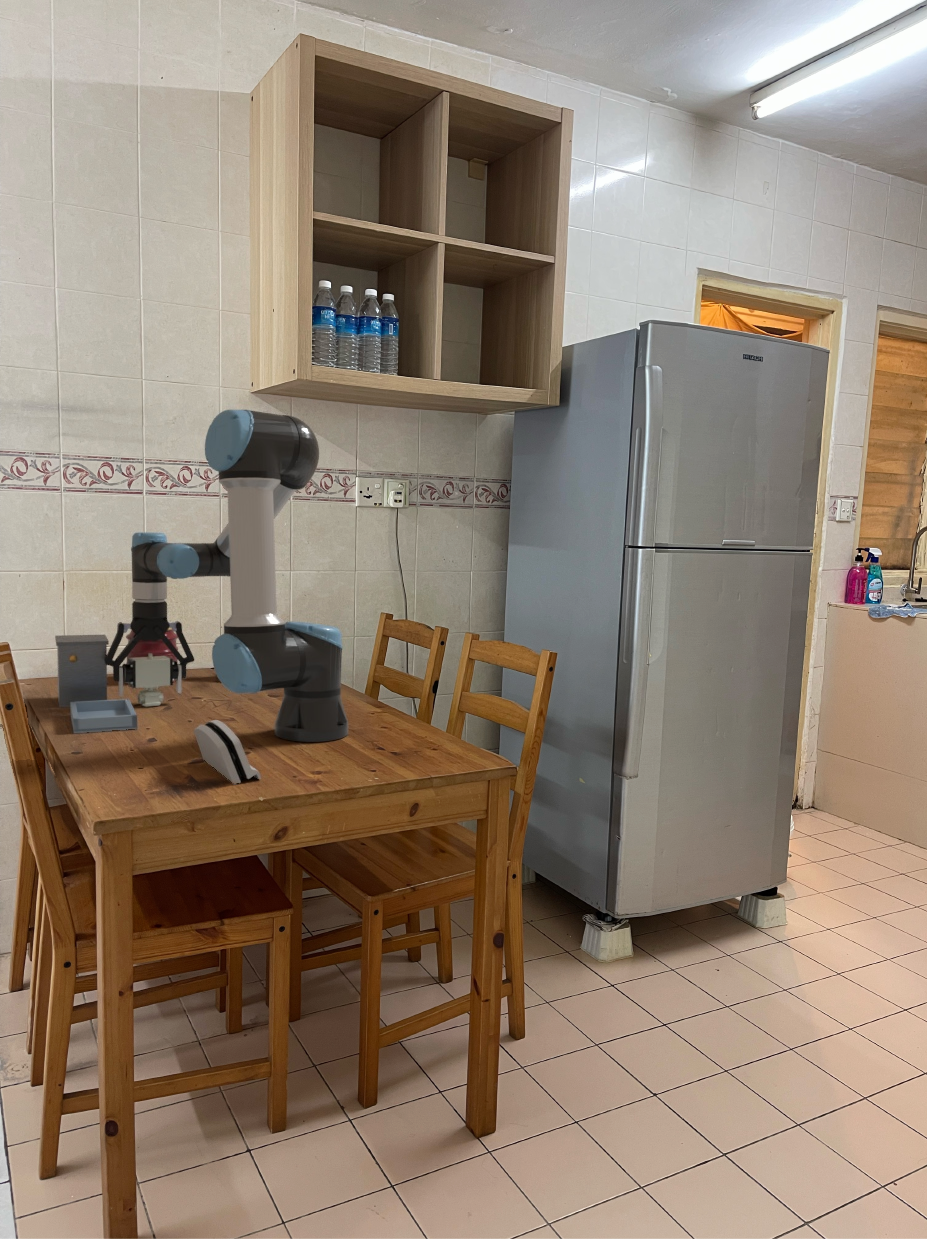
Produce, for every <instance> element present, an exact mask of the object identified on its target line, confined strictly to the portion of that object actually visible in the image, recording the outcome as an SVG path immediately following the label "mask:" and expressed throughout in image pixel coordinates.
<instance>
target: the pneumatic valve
mask: <svg viewBox="0 0 927 1239" xmlns="http://www.w3.org/2000/svg"><path fill="white" fill-rule="evenodd" d="M178 664H179V663H177V661H173V659H172V658H170V657H168V656H156V657H152V653H148V657H138V658H128V662H127V661H126V663H123V664H121V666H122V667H123V684H127V685H128V686H129V687H131V688H132V689H140V688H141V690H140V691H139V693H138V694H137V703H138V704H140V705H142V706H143V707H145V708H147V707H159V706H160V705H161V703H162V702H164V693H163V692H162V691H160V690H158V689H159V687H166V686H167V687H168V686H173V685H174V682H175V681H174V680H175V679H177V678H178V675H179V668H178ZM173 681H174V682H173ZM142 688H143V689H142Z"/></svg>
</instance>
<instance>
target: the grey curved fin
mask: <svg viewBox="0 0 927 1239" xmlns="http://www.w3.org/2000/svg"><path fill="white" fill-rule="evenodd" d="M193 733H194V736H195V738H196V742H197V744H198V747H199V751H200V753H201V756H202V760H203V761H204V760H205V761H206V762H207V763H208V764H207V763H206V762H205V761H204V762H205V763H206V764H207V765H209V764H210V765H211V766H212V767H214V768H215V769H216V770H217V771H216V770H215V769H214V768H213V769H214V770H215V771H216V772H218V771H219V772H220V773H221V774H222V776H223V775H224V776H225V777H226V778H227V779H226V778H225V777H224V776H223V777H224V778H225V779H226V780H228V779H229V780H230V781H231V782H232V783H231V782H230V781H229V780H228V781H229V782H230V783H231V784H233V783H239V784H241V783H242V782H241V781H242V780H243V778H244V779H248V780H249V779H251V778H252V777H253V776H254V778H255V777H256V778H257V779H262V777H261V774H260V771H259V770H257V769H256V768H255V767H254V766H253V765H251V764H250V762H249V760H248V757H247V755H246V752H245V750H244V748H243V745H242V743H241V740H240V739H239V738H238V736H237V735H236V734H235V732H234V731H233V730H232V729H231V728H229V726H227V725H226V724H225V723H224V722H223V721H221V720H218V719H214V720H210V721H207V722H205V724H200V725H198V726H197V727H195V728H194V729H193ZM210 765H209V766H210ZM211 766H210V767H211ZM212 767H211V768H212ZM219 772H218V773H219ZM220 773H219V774H220ZM221 774H220V775H221ZM242 777H243V778H242ZM256 778H255V779H256ZM257 779H256V780H257Z"/></svg>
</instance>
